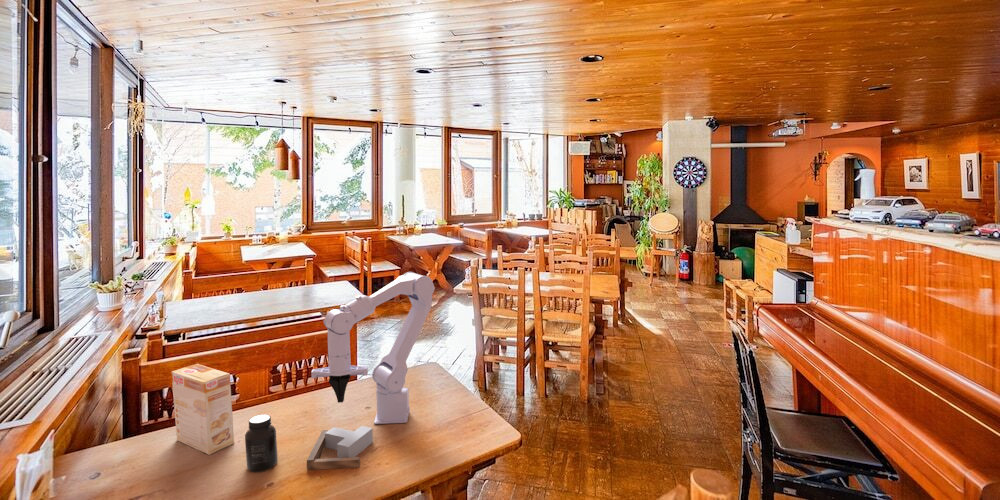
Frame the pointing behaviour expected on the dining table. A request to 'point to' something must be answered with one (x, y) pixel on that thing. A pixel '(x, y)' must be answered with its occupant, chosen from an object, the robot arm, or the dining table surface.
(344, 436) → the tee block
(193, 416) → the coffeecake box
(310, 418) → the dining table surface
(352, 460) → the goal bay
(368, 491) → the dining table surface
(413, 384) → the dining table surface
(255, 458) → the supplement bottle
